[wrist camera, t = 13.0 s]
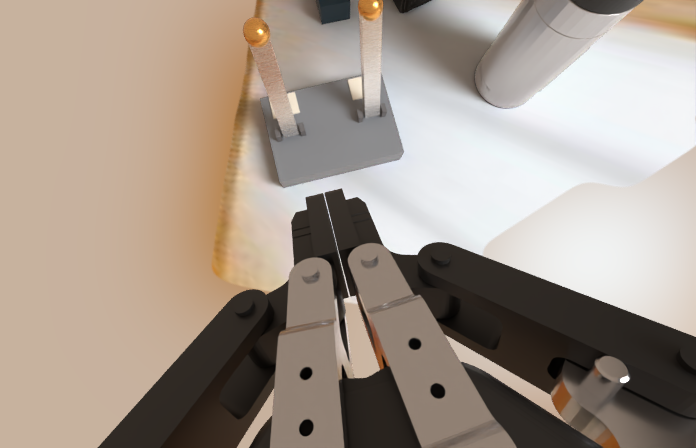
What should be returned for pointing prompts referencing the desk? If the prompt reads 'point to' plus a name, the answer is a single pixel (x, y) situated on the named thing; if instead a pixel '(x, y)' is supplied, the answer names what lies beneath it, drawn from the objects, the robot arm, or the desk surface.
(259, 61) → the lever
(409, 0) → the portable radio
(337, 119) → the switch console
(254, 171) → the desk surface
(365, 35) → the lever
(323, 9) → the stone sculpture on base
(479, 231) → the desk surface
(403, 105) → the desk surface
